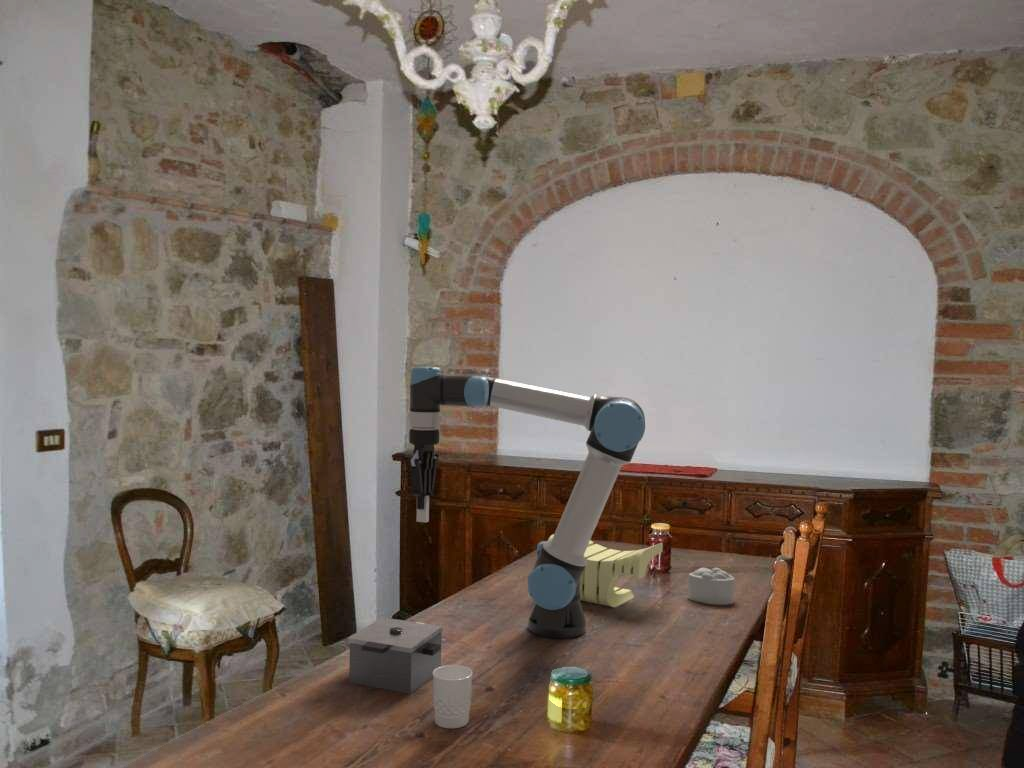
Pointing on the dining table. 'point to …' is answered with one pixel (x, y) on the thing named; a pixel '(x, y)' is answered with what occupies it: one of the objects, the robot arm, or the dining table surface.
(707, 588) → the lumpy-topped squat cylinder
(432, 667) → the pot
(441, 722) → the white cup
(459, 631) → the dining table surface
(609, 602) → the pale yellow slotted stand
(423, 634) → the lid
